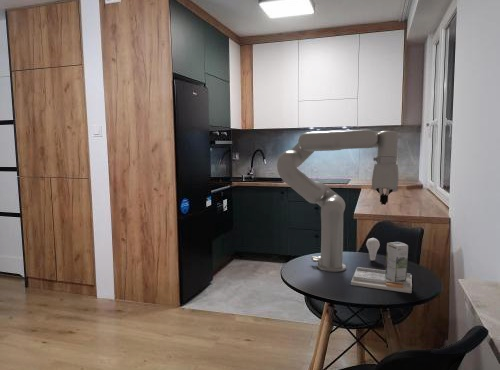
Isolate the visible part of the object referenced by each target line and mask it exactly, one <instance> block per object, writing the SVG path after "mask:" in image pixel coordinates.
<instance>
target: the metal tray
mask: <svg viewBox="0 0 500 370" xmlns="http://www.w3.org/2000/svg"><path fill="white" fill-rule="evenodd" d="M356 269H357V271H356V270H355V271H356V273H355V272H354V274H355V276H354V275H353V276H352V278H353V280H359V281H366V282H374V283H381V284H386V283H392V284H400V285H403V286H404V287H410V275H411V273H408V272H407V276H406V280H404V281H392V280H390V279H388V278H386V277H385V273H386V269H385V270H383V269H377V268H370V267H369V268H368V267H360V266H357V267H356Z"/></svg>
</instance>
